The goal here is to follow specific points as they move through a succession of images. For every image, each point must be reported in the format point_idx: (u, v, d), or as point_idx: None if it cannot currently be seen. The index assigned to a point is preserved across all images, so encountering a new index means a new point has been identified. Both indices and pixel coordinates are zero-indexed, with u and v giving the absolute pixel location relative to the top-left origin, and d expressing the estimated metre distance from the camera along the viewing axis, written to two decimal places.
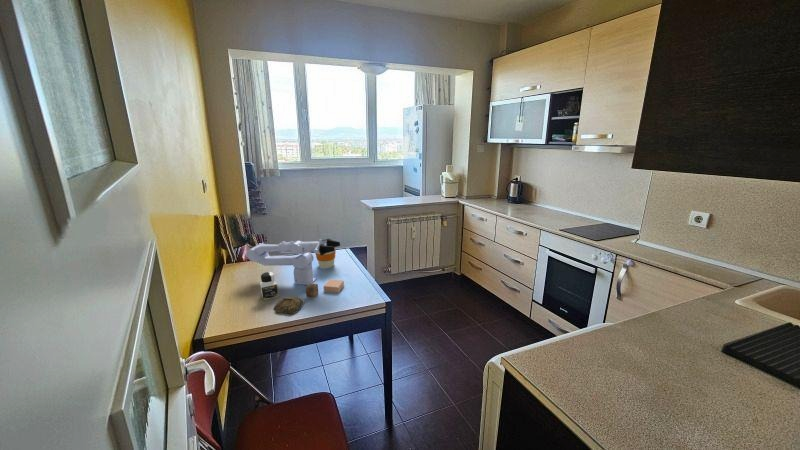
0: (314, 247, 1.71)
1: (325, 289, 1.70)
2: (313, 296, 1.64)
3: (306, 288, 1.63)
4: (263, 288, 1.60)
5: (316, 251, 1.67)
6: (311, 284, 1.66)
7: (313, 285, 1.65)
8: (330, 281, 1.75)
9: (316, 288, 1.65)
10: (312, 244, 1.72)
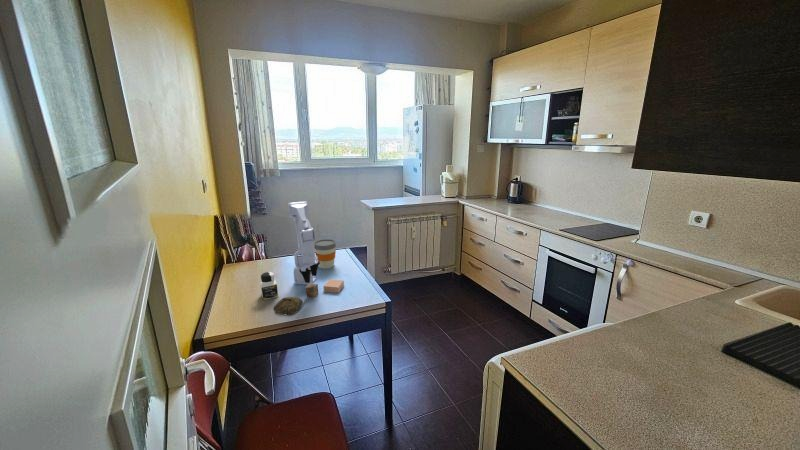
0: (307, 259, 1.58)
1: (325, 289, 1.70)
2: (313, 296, 1.64)
3: (306, 288, 1.63)
4: (263, 288, 1.60)
5: (302, 269, 1.55)
6: (311, 284, 1.66)
7: (313, 285, 1.65)
8: (330, 281, 1.75)
9: (316, 288, 1.65)
10: (311, 256, 1.58)
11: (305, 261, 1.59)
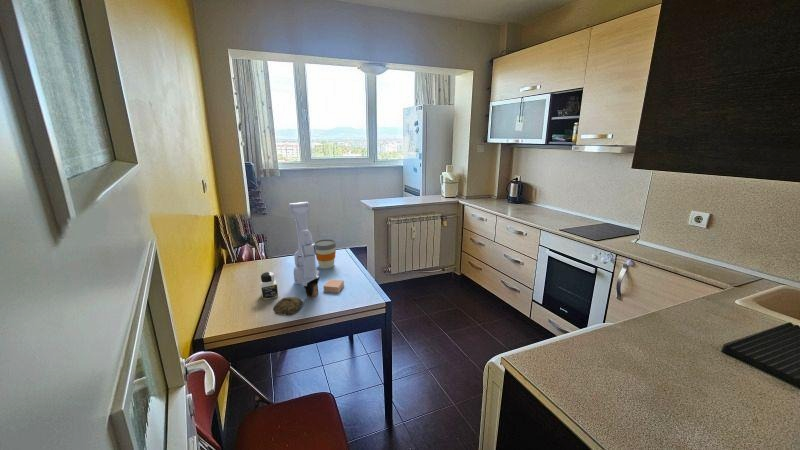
0: (309, 274, 1.60)
1: (325, 289, 1.70)
2: (313, 296, 1.64)
3: None
4: (263, 288, 1.60)
5: (304, 284, 1.57)
6: None
7: (313, 285, 1.65)
8: (330, 281, 1.75)
9: (316, 288, 1.65)
10: (312, 271, 1.60)
11: (306, 276, 1.61)
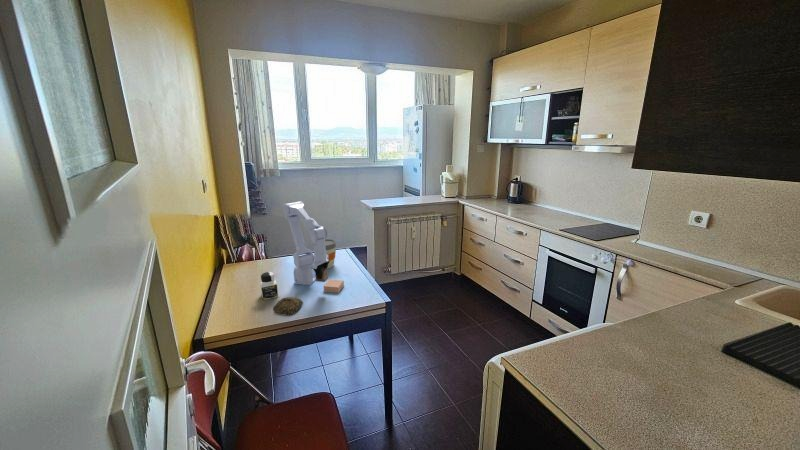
0: (318, 257, 1.61)
1: (325, 289, 1.70)
2: (323, 280, 1.65)
3: None
4: (263, 288, 1.60)
5: (314, 267, 1.58)
6: None
7: (323, 269, 1.66)
8: (330, 281, 1.75)
9: (326, 272, 1.67)
10: (322, 254, 1.62)
11: (316, 259, 1.62)
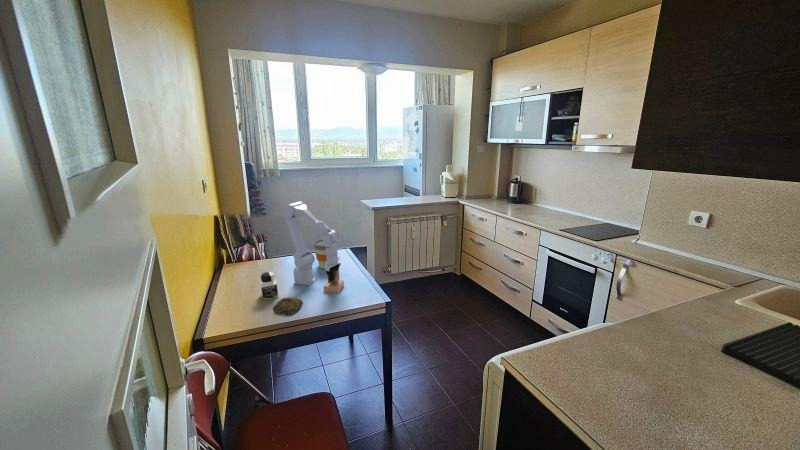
0: (331, 260, 1.66)
1: (325, 289, 1.70)
2: (335, 282, 1.70)
3: None
4: (263, 288, 1.60)
5: (326, 269, 1.63)
6: None
7: (335, 271, 1.71)
8: None
9: (337, 274, 1.71)
10: (334, 257, 1.66)
11: (328, 261, 1.66)
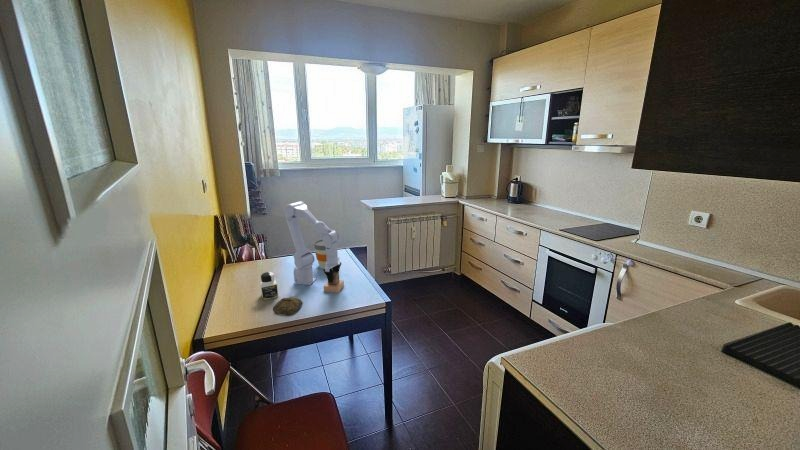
0: (331, 260, 1.66)
1: (325, 289, 1.70)
2: (335, 284, 1.70)
3: None
4: (263, 288, 1.60)
5: (327, 270, 1.63)
6: None
7: (335, 273, 1.71)
8: None
9: (337, 276, 1.72)
10: (334, 258, 1.66)
11: (329, 262, 1.67)
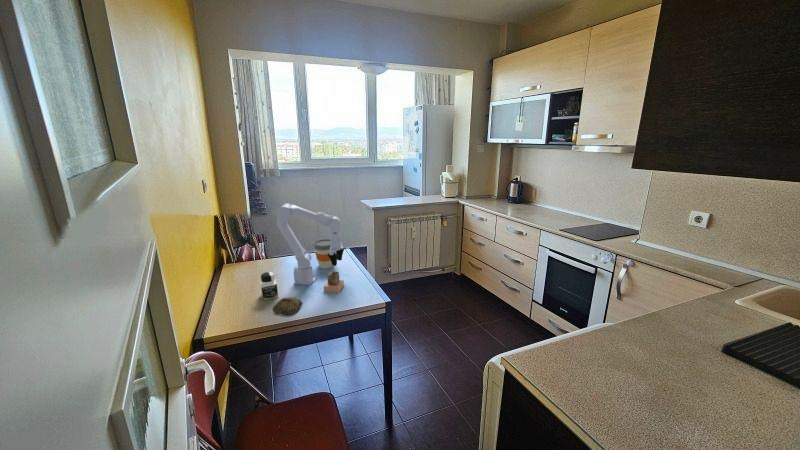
0: (335, 244, 1.75)
1: (325, 289, 1.70)
2: (335, 284, 1.70)
3: (328, 276, 1.69)
4: (263, 288, 1.60)
5: (331, 253, 1.72)
6: (332, 272, 1.72)
7: (335, 273, 1.71)
8: None
9: (337, 276, 1.72)
10: (338, 242, 1.76)
11: (332, 246, 1.76)
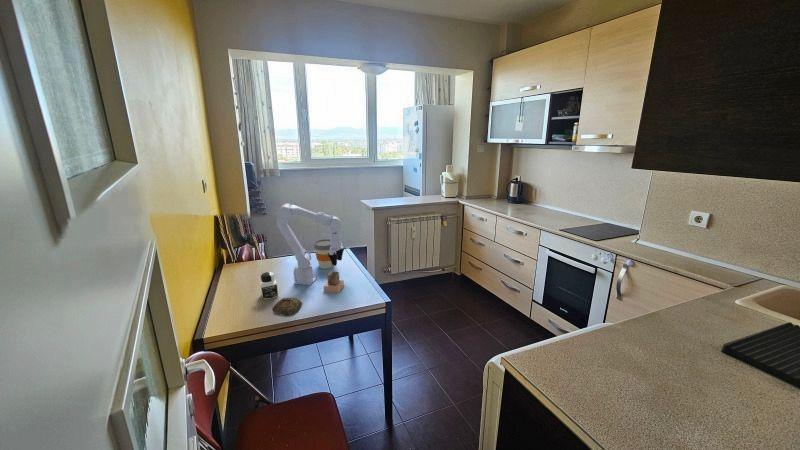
0: (335, 244, 1.76)
1: (325, 289, 1.70)
2: (335, 284, 1.70)
3: (328, 276, 1.69)
4: (263, 288, 1.60)
5: (331, 253, 1.72)
6: (332, 272, 1.72)
7: (335, 273, 1.71)
8: None
9: (337, 276, 1.72)
10: (338, 242, 1.76)
11: (332, 246, 1.76)
